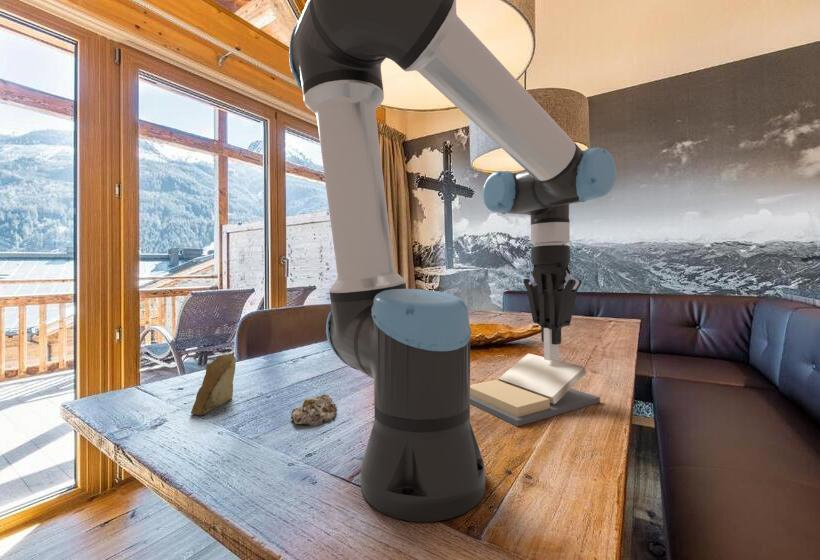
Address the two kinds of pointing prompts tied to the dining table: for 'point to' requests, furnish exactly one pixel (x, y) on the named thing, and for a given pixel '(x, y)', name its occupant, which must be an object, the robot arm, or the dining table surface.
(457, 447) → the robot arm
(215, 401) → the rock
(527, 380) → the book
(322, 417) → the mineral rock
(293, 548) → the dining table surface
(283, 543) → the dining table surface
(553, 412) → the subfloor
